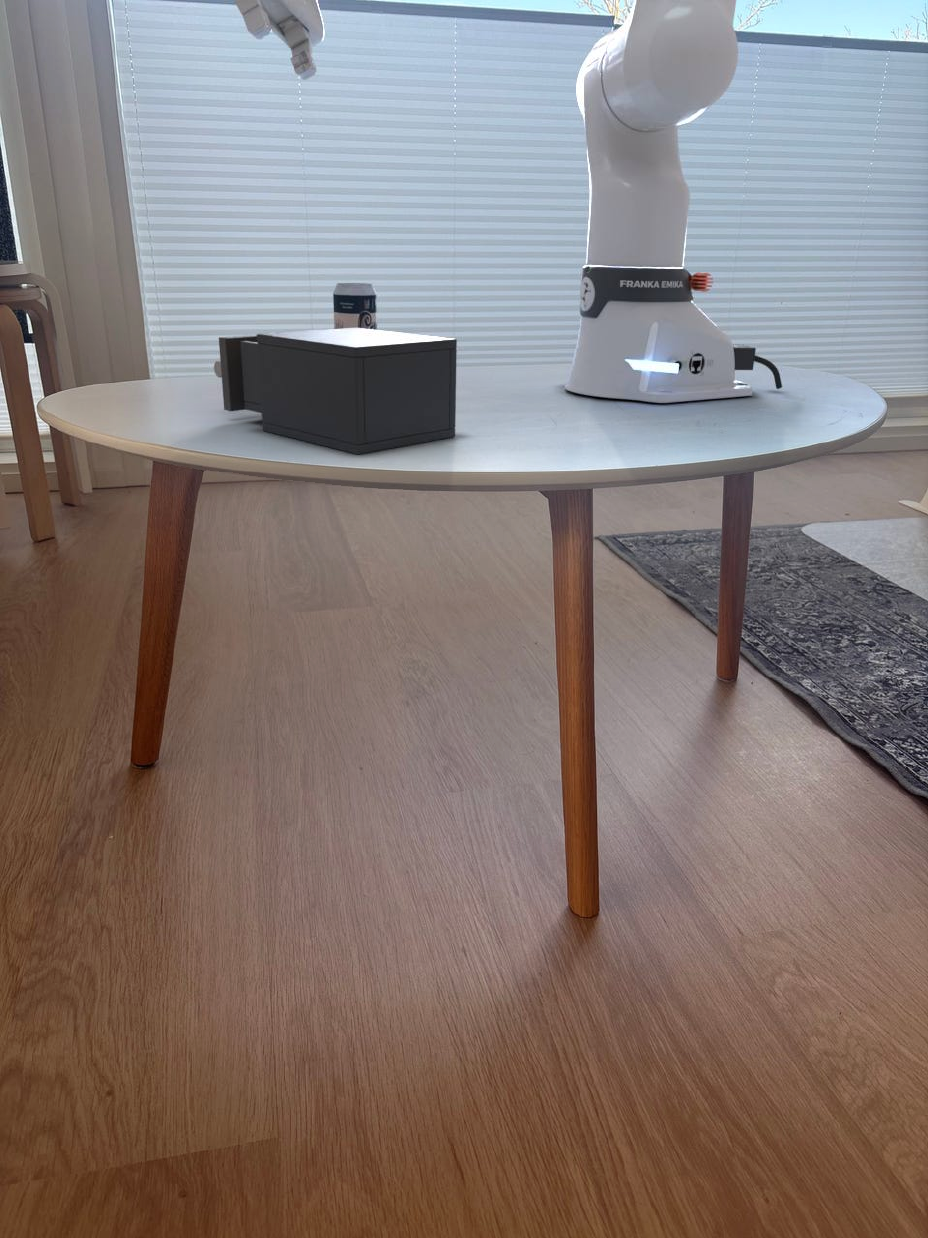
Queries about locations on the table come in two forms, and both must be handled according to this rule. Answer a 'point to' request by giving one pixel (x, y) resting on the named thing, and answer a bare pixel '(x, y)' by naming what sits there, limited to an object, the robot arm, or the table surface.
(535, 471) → the table surface
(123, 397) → the table surface
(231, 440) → the table surface
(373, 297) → the beer can
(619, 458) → the table surface
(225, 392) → the drawer
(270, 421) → the dark grey storage box
